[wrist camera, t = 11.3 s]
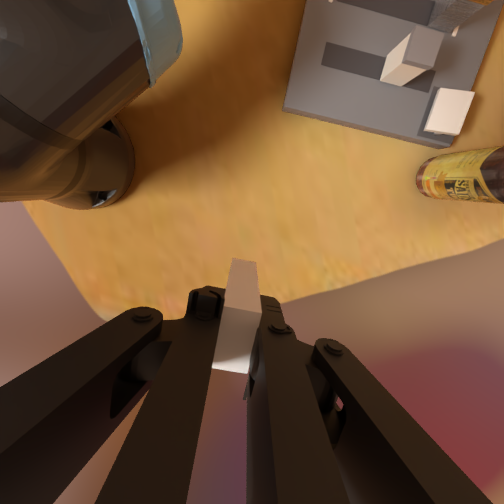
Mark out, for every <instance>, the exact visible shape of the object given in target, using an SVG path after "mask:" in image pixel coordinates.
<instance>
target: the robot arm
mask: <svg viewBox="0 0 504 504" xmlns="http://www.w3.org/2000/svg"><path fill="white" fill-rule="evenodd" d="M182 43H183V37H182V30H181V24H180V20H179V16H178V13H177V9H176V6H175V3H174V0H0V202H14V201H31V200H45V201H48V202H51V203H54V204H57V205H59V206H62V207H66V208H70V209H77V210H88V209H95V208H101V207H105V206H107V205H110V204H112V203H113V202H115V201H116V200H118V199H119V198H120V197H121V196H122V195H123V194H124V193H125V192H126V190H127V189H128V187H129V185H130V183H131V180H132V177H133V174H134V167H135V158H134V151H133V147H132V143H131V141H130V138H129V136H128V134H127V132H126V130H125V129H124V127H123V126H122V124H121V123H120V122H119V120H118V119H117V118H116V117H115V115H116V114H117V113H118V112H119V111H121V110H122V109H123V108H124V107H125V106H127V105H128V104H129V103H130V102H132V101H133V100H134V99H135V98H136V97H138V96H139V95H140V94H141V93H142V92H144V91H145V90H146V89H147V88H148V87H149V88H152V87H153V86H154V85H155V83H156V79H158V78H159V77H160V76H161V75H162V74H163V73H164V72H165V71H166V70H167V69H168V68H169V67H170V66H171V65H172V64H173V63H174V62H175V61H176V60H177V59H178V58H179V56H180V54H181V50H182ZM249 364H250V373H249V377H248V381H247V385H246V389H245V393H244V397H243V400H246V397H247V473H246V476H247V477H246V478H247V479H246V482H247V483H246V486H247V487H246V504H493V503H492V502H491V501H490V500H489V499H488V498H487V497H486V496H485V495H484V494H483V493H482V491H481V490H480V489H479V488H478V487H477V486H476V485H475V484H474V483H473V482H472V481H471V480H470V479H469V478H468V476H466V474H465V473H464V472H463V471H462V470H461V469H460V468H459V467H458V466H457V465H456V464H455V463H454V462H453V461H452V460H451V458H450V457H449V456H448V455H447V454H446V453H445V452H444V451H443V450H442V449H441V448H440V447H439V445H437V443H436V442H435V441H434V440H433V439H432V438H431V437H430V436H429V435H428V434H427V433H426V432H425V431H424V430H423V428H422V427H421V426H420V425H419V424H418V423H417V422H416V421H415V420H414V419H413V418H412V417H411V416H410V415H409V413H408V412H407V411H406V410H405V409H404V408H403V407H402V406H401V405H400V404H399V403H398V402H397V401H396V400H395V398H394V397H393V396H392V395H391V394H390V393H389V392H388V391H387V390H386V389H385V388H384V387H383V386H382V385H381V384H380V382H379V381H378V380H377V379H376V378H375V377H374V376H373V375H372V374H371V373H370V372H369V371H368V370H367V369H366V367H365V366H364V365H363V364H362V363H361V362H360V361H359V360H358V359H357V358H356V357H355V356H354V355H353V354H352V353H351V351H350V350H349V349H347V348H346V347H345V346H344V345H342V344H340V343H339V342H338V341H336V340H333V339H327V338H321V339H318V340H316V342H315V345H314V346H311V345H308V344H306V343H303V342H301V341H299V340H297V338H296V335H295V332H294V331H293V329H292V328H291V327H290V326H289V325H287V324H285V321H284V317H283V314H282V310H281V307H280V303H279V302H278V301H277V300H276V299H275V298H274V297H269V296H264V295H260V292H259V284H258V276H257V267H256V262H251V261H246V260H241V259H236V258H232V262H231V267H230V272H229V277H228V282H227V287H226V289H223V288H218V287H212V286H205V287H203V288H199V289H194V290H192V291H191V292H190V293H189V298H188V304H187V310H186V314H185V316H184V318H181V319H177V320H163V314H162V313H161V312H160V311H158V310H156V309H154V308H149V307H137V308H132V309H129V310H127V311H125V312H123V313H122V314H120V315H118V316H117V317H115V318H113V319H112V320H110V321H108V322H107V323H105V324H103V325H102V326H100V327H99V328H97V329H95V330H94V331H92V332H90V333H89V334H87V335H86V336H84V337H82V338H80V339H79V340H77V341H75V342H74V343H72V344H71V345H69V346H67V347H66V348H64V349H62V350H61V351H59V352H57V353H56V354H54V355H52V356H51V357H49V358H47V359H46V360H44V361H43V362H41V363H39V364H38V365H36V366H34V367H33V368H31V369H29V370H28V371H26V372H24V373H23V374H21V375H19V376H18V377H16V378H15V379H13V380H12V381H10V382H8V383H6V384H5V385H3V386H1V387H0V504H53V503H54V502H55V501H56V499H57V498H58V497H59V496H60V495H61V493H62V492H63V491H64V490H65V489H66V487H67V486H68V485H69V484H70V483H71V481H72V480H73V479H74V478H75V477H76V476H77V474H78V473H79V472H80V470H82V468H83V467H84V466H85V465H86V464H87V463H88V461H89V460H90V459H91V458H92V456H93V455H94V454H95V453H96V452H97V451H98V449H99V448H100V447H101V446H102V445H103V443H104V442H105V441H106V440H107V439H108V437H109V436H110V435H111V434H112V433H113V432H114V430H115V429H116V428H117V427H118V426H119V424H120V423H121V422H122V421H123V420H124V418H125V417H126V416H127V415H128V414H129V412H130V411H131V410H132V409H133V408H134V407H135V405H136V404H137V403H138V402H139V401H140V399H141V398H142V397H143V396H144V395H145V393H146V392H147V391H148V390H149V392H148V393H147V395H146V398H145V399H144V402H143V404H142V406H141V408H140V410H139V412H138V414H137V416H136V418H135V420H134V422H133V425H132V427H131V429H130V431H129V433H128V435H127V437H126V439H125V441H124V444H123V445H122V447H121V450H120V452H119V454H118V456H117V458H116V460H115V462H114V464H113V466H112V469H111V471H110V472H109V475H108V477H107V479H106V481H105V483H104V485H103V487H102V489H101V491H100V493H99V495H98V498H97V500H96V502H95V504H186V500H187V495H188V490H189V484H190V479H191V474H192V469H193V464H194V458H195V453H196V447H197V442H198V437H199V432H200V427H201V422H202V416H203V411H204V406H205V400H206V395H207V390H208V385H209V379H210V375H211V369H212V368H215V369H221V370H228V371H234V372H240V373H245V374H247V372H248V368H249ZM338 396H339V398H340V399H341V401H342V402H343V404H344V405H343V408H342V410H341V409H340V408H339V407H338V405H337V403H336V401H337V399H338Z"/></svg>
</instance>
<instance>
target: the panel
mask: <svg viewBox="0 0 504 504" xmlns="http://www.w3.org/2000/svg"><path fill="white" fill-rule="evenodd" d="M435 1H436V0H306V4H305V8H304V13H303V17H302V22H301V26H300V31H299V36H298V40H297V45H296V49H295V54H294V58H293V63H292V68H291V72H290V77H289V81H288V86H287V90H286V95H285V100H284V104H283V109H282V111H285V112H289V113H293V114H297V115H301V116H305V117H309V118H313V119H318V120H322V121H326V122H330V123H334V124H338V125H342V126H346V127H350V128H354V129H359V130H363V131H367V132H371V133H375V134H379V135H383V136H387V137H391V138H395V139H399V140H404V141H408V142H412V143H416V144H420V145H424V146H428V147H432V148H436V149H442V148H447V147H450V144H452V141H453V139H454V135H447V134H442V135H434V132H428V131H424V128H425V125H426V122H427V119H428V116H429V114H430V111H431V108H432V105H433V102H434V99H435V96H436V94H437V91H438V90H439V89H440V88H447V89H455V90H463V91H471V88H472V86H473V83H474V81H475V78H476V75H477V73H478V70H479V67H480V65H481V62H482V59H483V57H484V54H485V51H486V49H487V46H488V43H489V41H490V38H491V36H492V33H493V30H494V28H495V25H496V22H497V20H498V17H499V14H500V12H501V9H502V6H503V4H504V0H494V1H492V2H491V3H490V4H488V5H487V6H483V7H482V8H481V9H480V10H478V11H477V12H476V13H474V14H473V15H472V16H470V17H469V18H468V19H466V20H465V21H464V22H463V23H461V24H460V25H459V26H457V27H456V28H455V29H453V30H452V31H451V32H450V33H449V32H446V31H442V30H439V29H435V28H431V27H428V23H429V20H430V17H431V13H432V10H433V7H434V4H435ZM416 25H417V26H421V27H424V28H428V29H432V30H435V31H439V32H442V33H445V34H444V37H443V40H442V43H441V45H440V48H439V51H438V54H437V57H436V60H435V63H434V66H433V67H432V68H431V69H429V70H425V71H424V72H422V73H421V74H419V75H418V76H416V77H415V78H413V79H412V80H410V81H409V82H407V83H406V84H404V85H403V86H397V85H394V84H390V83H386V82H382V81H380V78H381V75H382V71H383V68H384V65H385V61H386V58H387V55H388V54H389V53H390V52H391V51H392V50H393V49H394V48H395V47H396V46H397V45H398V44H399V43H400V42H401V41H403V40H404V39H405V38H406V37H407V36H408V35H409V34H410V33H411V31H412V29H413V28H414V27H415V26H416Z"/></svg>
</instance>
